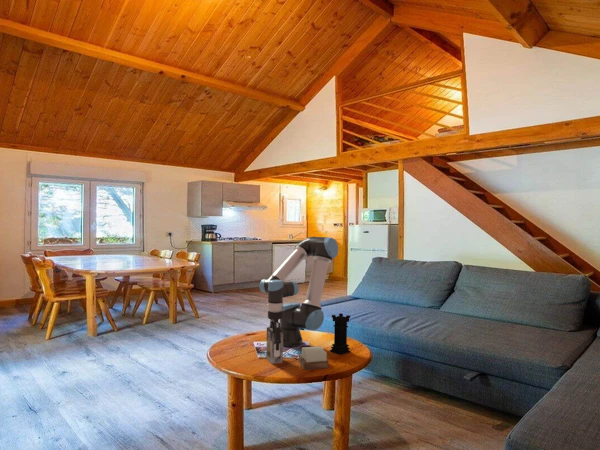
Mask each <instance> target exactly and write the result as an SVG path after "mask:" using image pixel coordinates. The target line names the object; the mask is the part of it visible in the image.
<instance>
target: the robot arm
mask: <svg viewBox="0 0 600 450" xmlns="http://www.w3.org/2000/svg"><path fill="white" fill-rule="evenodd" d="M338 254H339V244H338V242H337V240H336V239H335V238H333V237H328V236H309V237H307V238H305V239H303V240H302V241H301V242H299V243H298V244H297V245H296V246H295V247H293V251H292V253H290V255H288V257H287V258H286V259H284V261H283V262H282V263H281V265H279V266H278V267H277V269H276V270H275V271H274V272H273V273H272V274H271V275H270V276H269V277H268V278H263V279H261V280H260V282H259V285H258V287H259V290H260V292H262V293H265V294H267V304H266V307H267V310H268V311H267V319H269V321H270V322H269V327H271V328H272V329H273V331H274V339H275V342H274V343H273V344H274V357H280V343H281V336H280V329H281V330H282V331H283V347H298V346H301V345H302V344H303V336H302V333H301V329H305V330H308V331H317V330H318V329H319V328H320V327H322V325H323V323H324V320H325V314H324V311H323V310H322V309H323V307H322V306H321V301H322V296H323V290H324V287H325V283H326V278H327V274H328V268H329V264H331V263H332V261H333V259H334V258H336V257H337V256H338ZM309 257H312V259H313V264H312V270H311V274H310V278H309V283H308V288H307V292H306V295H305V299H304V301H302V302H301V303H300V302H287V303H284V298H288V297H293V296H296V295H297V294H298V293H299V289H300V287H299V285H298V282H296V281H294V280H293V281H290V280H289V281H286V279H288V278H289V276H291V274H292V273H293V272H294V271H295V269H296V268H297V267H298V266H300V264H301V263H302V262H303V261H305V260H307V259H308V258H309Z"/></svg>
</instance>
